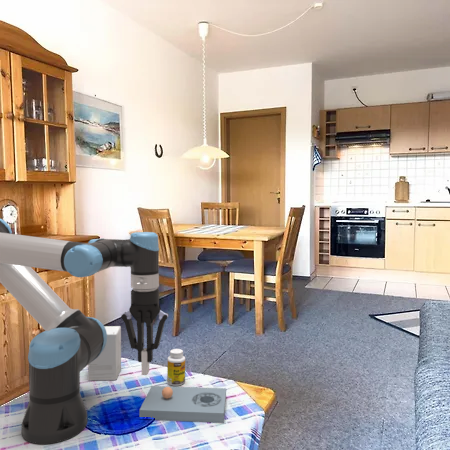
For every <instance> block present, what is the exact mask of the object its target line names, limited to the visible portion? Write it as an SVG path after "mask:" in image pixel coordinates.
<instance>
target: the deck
mask: <svg viewBox="0 0 450 450" xmlns="http://www.w3.org/2000/svg"><path fill="white" fill-rule="evenodd" d="M165 387H170V388H171V389H172V390H173V394H172V396H171V397H170V398H168V399H166V398H164V397H163V396H162V390H163V389H164V388H165ZM226 401H227V388H226V387H225V388H223V387H222V388H221V387H220V388H218V387H197V386H196V387H195V386H172V385H167V386H166V385H151V386H150V388H149V390H148V392H147V394H146V396H145V399H144V400H143V402H142V403H141V406H140V408H139V412H138V413H139V415H138V416H139V417H151V418H152V417H153V418H155V420H154V421H171V422H172V421H173V422H194V423H195V422H199V423H221V424H222V423H223V424H224V421H225V413H226Z"/></svg>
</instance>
